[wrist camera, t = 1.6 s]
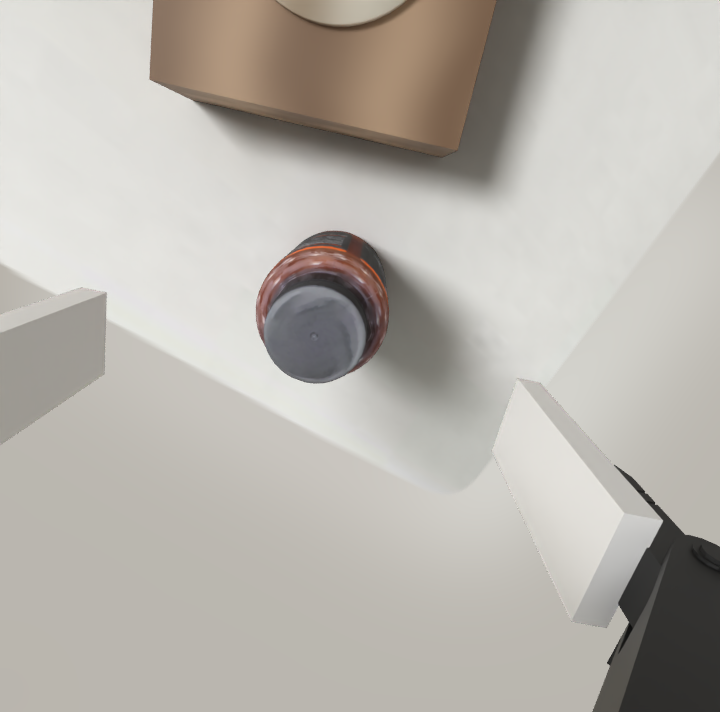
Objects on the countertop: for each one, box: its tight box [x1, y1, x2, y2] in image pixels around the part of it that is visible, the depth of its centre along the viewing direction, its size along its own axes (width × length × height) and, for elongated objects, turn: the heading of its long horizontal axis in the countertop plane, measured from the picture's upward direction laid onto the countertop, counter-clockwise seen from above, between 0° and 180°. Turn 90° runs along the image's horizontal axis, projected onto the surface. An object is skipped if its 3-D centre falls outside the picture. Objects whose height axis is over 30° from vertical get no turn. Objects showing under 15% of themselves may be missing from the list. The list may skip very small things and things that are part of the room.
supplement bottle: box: [256, 231, 389, 383], centre depth 23 cm, size 6×6×11 cm
